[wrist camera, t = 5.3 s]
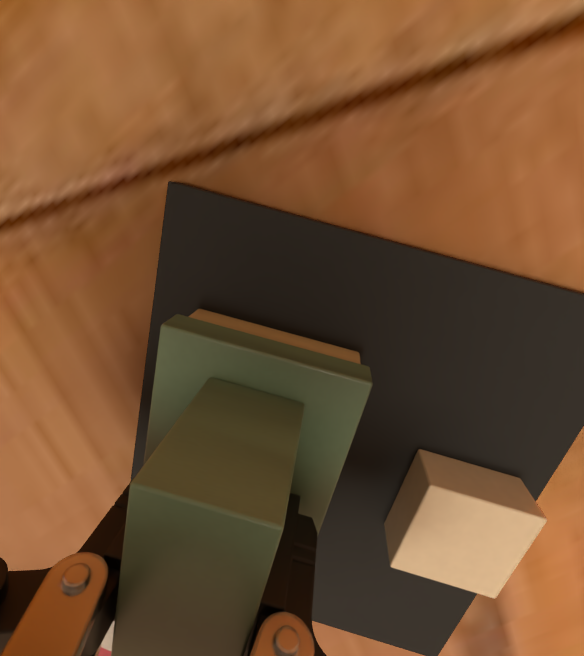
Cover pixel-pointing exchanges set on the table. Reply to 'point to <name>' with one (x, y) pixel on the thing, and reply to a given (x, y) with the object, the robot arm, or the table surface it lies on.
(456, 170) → the table surface
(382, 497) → the mat
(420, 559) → the beige square block
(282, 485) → the green stepped block
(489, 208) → the table surface
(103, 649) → the paintbrush
